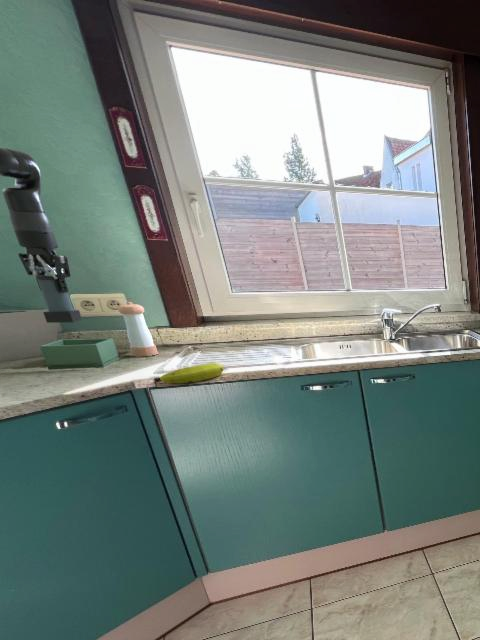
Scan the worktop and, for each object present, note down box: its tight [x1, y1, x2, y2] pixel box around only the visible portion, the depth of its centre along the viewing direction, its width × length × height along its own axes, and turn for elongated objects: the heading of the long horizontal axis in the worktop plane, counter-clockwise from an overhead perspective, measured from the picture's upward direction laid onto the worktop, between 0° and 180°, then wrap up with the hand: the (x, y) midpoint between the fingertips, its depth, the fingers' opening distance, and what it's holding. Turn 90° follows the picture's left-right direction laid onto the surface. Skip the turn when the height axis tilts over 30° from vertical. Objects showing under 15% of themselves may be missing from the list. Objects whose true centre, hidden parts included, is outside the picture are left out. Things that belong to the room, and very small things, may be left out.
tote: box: [39, 337, 121, 371], centre depth 165 cm, size 14×14×8 cm
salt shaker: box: [118, 301, 159, 358], centre depth 179 cm, size 7×7×19 cm
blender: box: [35, 274, 83, 324], centre depth 145 cm, size 6×6×13 cm
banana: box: [153, 362, 225, 384], centre depth 154 cm, size 5×17×15 cm
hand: (54, 291), depth 144 cm, fingers closed on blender, 5 cm apart
